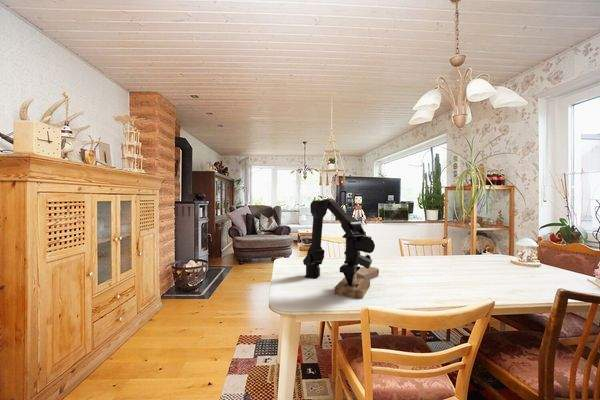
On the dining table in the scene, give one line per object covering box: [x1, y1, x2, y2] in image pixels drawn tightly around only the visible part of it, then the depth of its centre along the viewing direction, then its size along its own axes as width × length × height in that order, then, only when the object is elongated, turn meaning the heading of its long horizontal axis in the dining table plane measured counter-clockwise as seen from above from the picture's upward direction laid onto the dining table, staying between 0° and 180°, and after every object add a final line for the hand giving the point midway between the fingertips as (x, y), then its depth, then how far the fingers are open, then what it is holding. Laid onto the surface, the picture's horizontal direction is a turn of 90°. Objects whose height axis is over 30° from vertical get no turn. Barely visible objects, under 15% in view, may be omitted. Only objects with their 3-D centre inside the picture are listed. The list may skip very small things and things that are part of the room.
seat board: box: [333, 276, 371, 300], centre depth 127 cm, size 12×18×3 cm, turn 157°
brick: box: [356, 266, 380, 281], centre depth 147 cm, size 17×8×5 cm, turn 136°
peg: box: [347, 273, 356, 288], centre depth 125 cm, size 4×4×8 cm
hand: (351, 284), depth 125 cm, fingers closed on peg, 4 cm apart
